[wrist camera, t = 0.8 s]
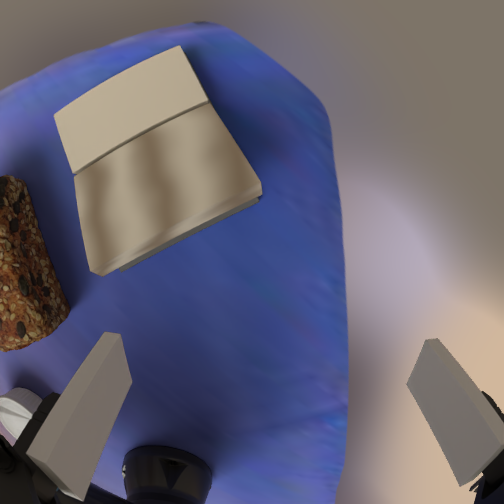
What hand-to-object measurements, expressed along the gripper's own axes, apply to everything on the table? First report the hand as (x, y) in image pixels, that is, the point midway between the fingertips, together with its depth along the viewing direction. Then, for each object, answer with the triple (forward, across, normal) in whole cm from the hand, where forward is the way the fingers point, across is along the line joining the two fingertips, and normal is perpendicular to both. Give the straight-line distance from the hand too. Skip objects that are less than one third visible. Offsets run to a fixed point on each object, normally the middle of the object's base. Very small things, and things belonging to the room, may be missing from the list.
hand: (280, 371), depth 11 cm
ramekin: (+13, +36, +28) cm, 48 cm away
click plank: (+17, +10, -5) cm, 21 cm away
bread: (+18, +30, +3) cm, 36 cm away
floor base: (+22, +13, -8) cm, 27 cm away
